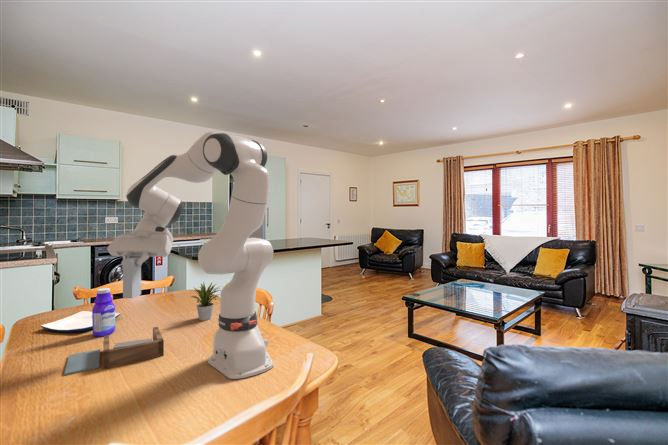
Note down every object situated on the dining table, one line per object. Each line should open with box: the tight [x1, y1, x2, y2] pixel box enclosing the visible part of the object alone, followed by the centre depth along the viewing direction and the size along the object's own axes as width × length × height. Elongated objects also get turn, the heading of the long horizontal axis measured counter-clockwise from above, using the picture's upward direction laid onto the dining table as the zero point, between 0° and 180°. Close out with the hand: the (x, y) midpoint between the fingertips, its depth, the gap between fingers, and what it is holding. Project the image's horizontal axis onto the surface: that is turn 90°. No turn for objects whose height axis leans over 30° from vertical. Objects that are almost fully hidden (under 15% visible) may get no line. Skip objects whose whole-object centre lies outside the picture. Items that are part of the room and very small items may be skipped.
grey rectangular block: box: [122, 256, 142, 299], centre depth 107 cm, size 3×5×13 cm, turn 1°
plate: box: [40, 310, 122, 333], centre depth 130 cm, size 20×20×3 cm
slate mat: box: [64, 349, 101, 376], centre depth 98 cm, size 14×8×1 cm, turn 36°
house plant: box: [190, 281, 223, 322], centre depth 138 cm, size 14×14×16 cm
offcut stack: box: [112, 338, 153, 349], centre depth 102 cm, size 4×12×5 cm, turn 117°
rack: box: [102, 326, 165, 370], centre depth 104 cm, size 15×16×5 cm
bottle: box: [91, 287, 116, 338], centre depth 120 cm, size 7×6×17 cm
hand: (131, 264), depth 106 cm, fingers closed on grey rectangular block, 3 cm apart
